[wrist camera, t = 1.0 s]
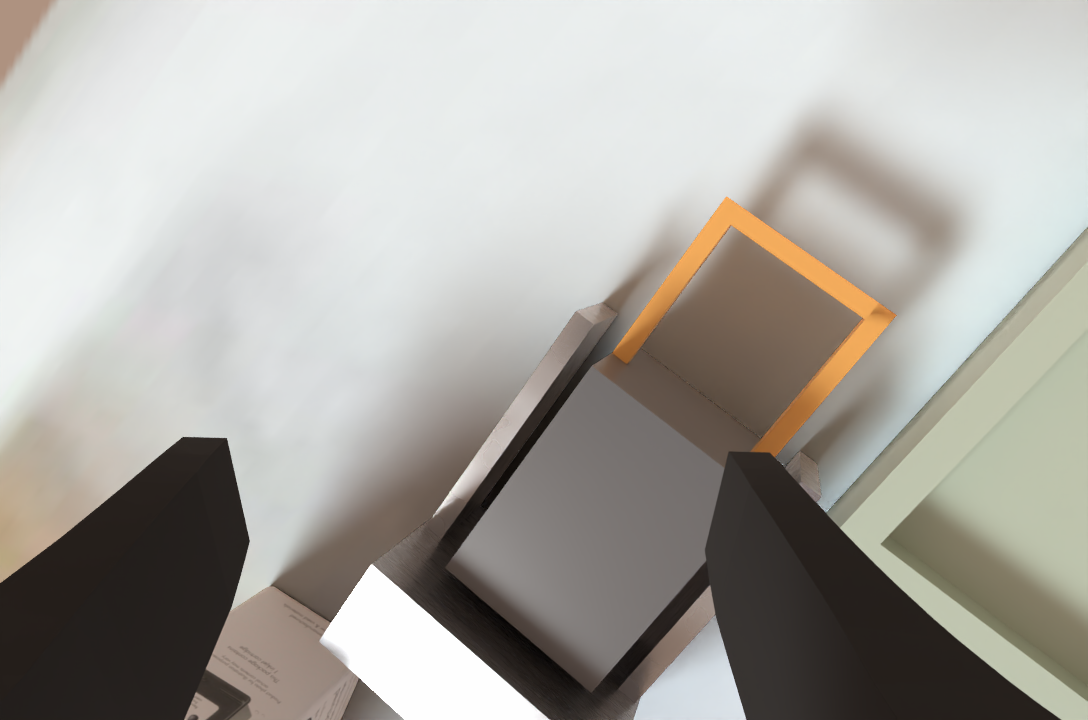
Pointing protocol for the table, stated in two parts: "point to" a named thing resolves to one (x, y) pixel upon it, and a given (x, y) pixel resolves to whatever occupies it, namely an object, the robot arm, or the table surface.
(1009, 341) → the green tray
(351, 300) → the table surface
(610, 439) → the orange handle block
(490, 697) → the steel bay
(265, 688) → the ink box
